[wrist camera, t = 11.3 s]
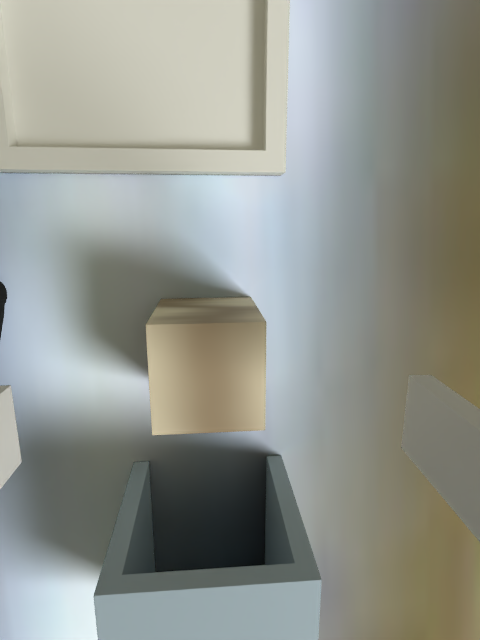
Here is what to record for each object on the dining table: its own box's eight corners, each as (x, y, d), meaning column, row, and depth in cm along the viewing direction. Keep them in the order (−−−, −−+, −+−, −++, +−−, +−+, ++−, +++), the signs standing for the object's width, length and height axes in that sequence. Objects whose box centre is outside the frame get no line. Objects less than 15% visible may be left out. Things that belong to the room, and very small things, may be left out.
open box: (142, 584, 27) (110, 763, 18) (134, 462, 24) (93, 595, 16) (277, 575, 27) (312, 742, 18) (281, 455, 25) (321, 579, 16)
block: (165, 383, 24) (152, 435, 18) (161, 298, 22) (145, 324, 17) (250, 380, 24) (265, 430, 18) (250, 296, 23) (266, 321, 17)
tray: (3, 172, 20) (-11, 169, 19) (-41, -179, 17) (-62, -214, 16) (280, 175, 21) (285, 172, 20) (287, -154, 18) (294, -185, 17)
